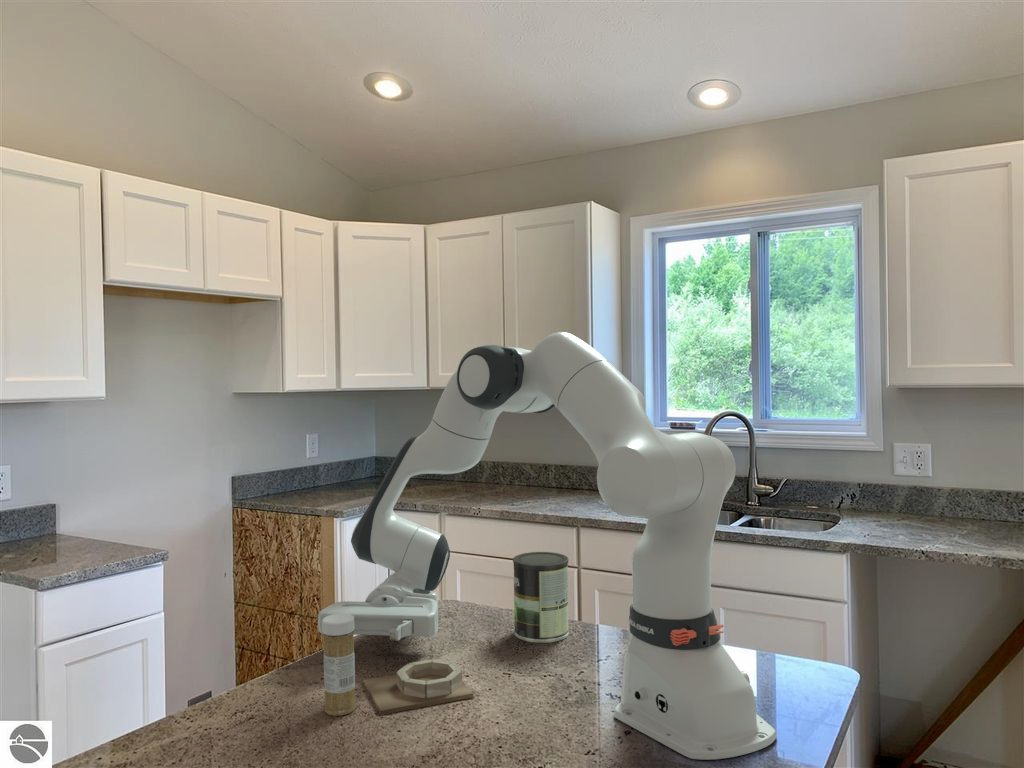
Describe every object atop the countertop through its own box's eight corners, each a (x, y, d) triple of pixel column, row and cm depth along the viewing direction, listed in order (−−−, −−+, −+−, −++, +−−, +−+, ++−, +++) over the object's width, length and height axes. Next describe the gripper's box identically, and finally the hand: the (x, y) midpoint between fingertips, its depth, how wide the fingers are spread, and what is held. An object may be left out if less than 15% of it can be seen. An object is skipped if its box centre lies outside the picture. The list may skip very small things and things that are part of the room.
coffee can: (511, 642, 135) (510, 564, 134) (516, 624, 145) (515, 551, 145) (568, 644, 134) (567, 565, 133) (570, 625, 144) (569, 551, 144)
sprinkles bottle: (351, 701, 111) (350, 610, 111) (359, 713, 107) (357, 619, 107) (320, 707, 109) (318, 615, 109) (327, 720, 105) (325, 624, 105)
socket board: (473, 697, 112) (473, 679, 112) (380, 715, 106) (380, 696, 106) (448, 669, 123) (448, 653, 123) (363, 683, 117) (363, 667, 117)
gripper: (333, 589, 134) (302, 613, 121) (445, 591, 132) (426, 616, 118) (334, 624, 135) (303, 652, 121) (446, 627, 132) (427, 656, 118)
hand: (365, 634), depth 119 cm, fingers open, 8 cm apart
